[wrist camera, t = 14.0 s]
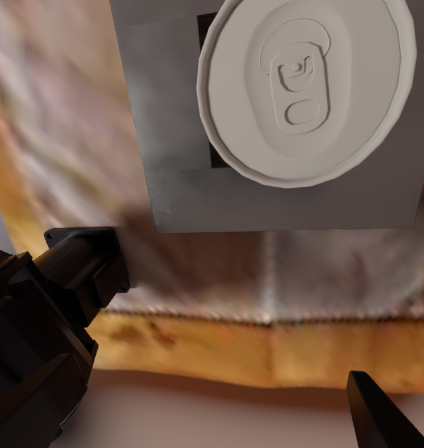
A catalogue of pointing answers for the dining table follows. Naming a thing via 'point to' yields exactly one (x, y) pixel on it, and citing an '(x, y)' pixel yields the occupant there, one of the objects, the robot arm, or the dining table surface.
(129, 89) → the block
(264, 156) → the beverage can
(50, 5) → the dining table surface
